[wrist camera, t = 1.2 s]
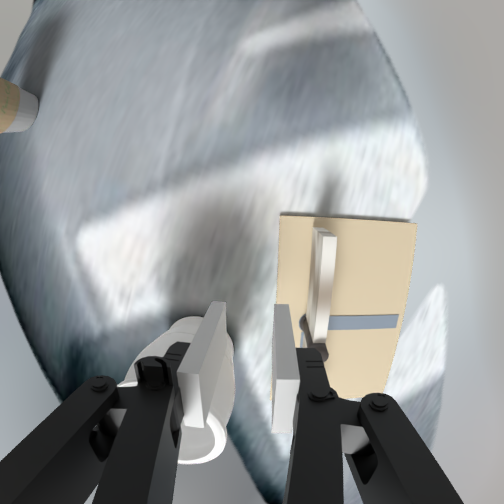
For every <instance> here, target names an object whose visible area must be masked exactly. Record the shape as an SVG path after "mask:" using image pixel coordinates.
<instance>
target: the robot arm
mask: <svg viewBox="0 0 504 504" xmlns="http://www.w3.org/2000/svg"><path fill="white" fill-rule="evenodd" d="M226 347H227V332H226V302H222V301H212V302H211V304H210V306H209V308H208V310H207V312H206V314H205V316H204V318H203V320H202V322H201V324H200V326H199V328H198V330H197V332H196V334H195V336H194V338H193V340H192V342H191V343H188V342H178V341H177V342H176V343H174V344H173V345H171V346H169V348H168V350H167V351H166V354H165V355H164V356H163V357H159V356H147V357H143V358H141V359H139V360H137V361H136V362H135V363H134V369H135V373H136V378H137V382H138V383H137V386H131V387H117V384H116V382H115V380H114V379H113V378H111V377H108V376H95V377H92V378H90V379H88V380H87V381H86V382H84V383H83V384H82V385H81V386H80V387H79V388H78V389H77V390H76V391H75V392H74V393H73V394H71V395H70V396H69V397H68V398H67V399H66V400H65V401H64V402H63V403H62V404H61V405H60V406H58V407H57V408H56V409H55V410H54V411H53V412H52V413H51V414H50V415H49V416H48V417H47V418H46V419H45V420H44V421H42V422H41V423H40V424H39V425H38V426H37V427H36V428H35V429H34V430H33V431H32V432H31V433H30V434H29V435H28V436H27V437H26V438H24V439H23V440H22V441H21V442H20V443H19V444H18V445H17V446H16V447H15V448H14V449H13V450H12V451H11V452H10V453H9V454H8V455H7V456H6V457H5V458H3V460H1V462H0V504H84V503H85V501H86V500H87V499H88V497H89V496H90V494H91V493H92V492H93V490H94V489H95V487H96V486H97V485H98V487H97V490H96V493H95V496H94V499H93V502H92V504H172V500H173V493H174V485H175V478H176V470H177V463H178V457H179V450H180V443H181V437H182V430H181V422H182V420H183V417H184V422H185V426H191V427H199V428H205V424H206V420H207V417H208V413H209V409H210V406H211V402H212V398H213V395H214V391H215V387H216V384H217V380H218V376H219V372H220V369H221V365H222V361H223V358H224V354H225V350H226ZM96 425H97V426H96ZM95 426H96V427H95ZM94 427H95V428H94ZM93 428H94V429H93ZM292 430H293V439H292V445H291V450H290V461H289V468H288V475H287V481H286V488H285V494H284V500H283V504H344V499H343V458H342V453H344V454H345V457H346V460H347V462H348V465H349V467H350V470H351V472H352V475H353V478H354V480H355V483H356V485H357V488H358V491H359V493H360V496H361V498H362V501H363V504H464V503H463V502H462V500H461V498H460V497H459V495H458V494H457V492H456V490H455V489H454V487H453V486H452V484H451V483H450V481H449V479H448V478H447V476H446V475H445V473H444V472H443V470H442V469H441V467H440V466H439V464H438V463H437V461H436V460H435V458H434V456H433V455H432V453H431V452H430V450H429V449H428V447H427V446H426V444H425V443H424V441H423V440H422V439H421V437H420V436H419V434H418V433H417V431H416V430H415V428H414V427H413V425H412V424H411V422H410V421H409V419H408V418H407V417H406V415H405V414H404V412H403V411H402V409H401V408H400V406H399V405H398V404H397V402H396V401H395V400H394V399H393V398H392V397H391V396H389V395H387V394H383V393H370V394H367V395H365V396H364V397H363V398H362V400H361V402H357V401H350V400H346V399H342V398H340V397H338V394H337V392H336V391H335V390H334V389H333V388H331V387H330V384H329V380H328V377H327V373H326V370H325V368H324V363H323V359H322V356H321V353H320V352H319V351H318V350H316V349H315V348H295V341H294V334H293V328H292V321H291V315H290V309H289V304H274V321H273V338H272V433H292ZM98 483H99V484H98Z"/></svg>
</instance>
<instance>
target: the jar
mask: <svg viewBox="0 0 504 504" xmlns="http://www.w3.org/2000/svg"><path fill="white" fill-rule="evenodd" d="M202 320H203V317H198V316H190V317H185V318H182V319H180V320H178V321H176V322H175V323H174V324H173V325H172V326H171V327H170V329H169V330H168V331H166V332H165V333H163V334H162V335H161V336H159V337H158V338H157V339H156V340H155V341H153V342H152V343H150V344H149V345H148V346H147V347H146V348H145V349H144V350H143V351H142V352H141V353H140V354H139V355H138V356H137V358H136V359H135V360H134V362H133V363H132V365H131V367H130V369H129V370H128V372H127V375H126V377H125V379H124V381H123V382H121V383H120V384H118V385H117V387H131V386H137V383H138V382H137V378H136V373H135V369H134V363H135V362H136V361H137V360H139V359H141V358H143V357H147V356H159V357H163V356H164V355H165V354H166V351H167V350H168V348H169V346H171V345H173V344H174V343H176V342H177V341H178V342H188V343H191V342H192V340H193V338H194V336H195V334H196V332H197V330H198V328H199V326H200V324H201V322H202ZM233 353H234V348H233V343H232V340H231V338H230V336H229V335H228V333H227V347H226V350H225V354H224V358H223V361H222V365H221V369H220V372H219V376H218V380H217V384H216V387H215V391H214V395H213V398H212V402H211V406H210V409H209V413H208V417H207V420H206V424H205V428H199V427H191V426H185V422H184V417H183V420H182V422H181V430H182V437H181V443H180V450H179V457H178V463H179V464H199V463H204V462H207V461H210V460H212V459H214V458H216V457H217V456H219V454H220V453H221V452H222V451H223V449H224V447H225V444H226V441H227V430H226V425H227V423H228V420H229V418H230V415H231V412H232V409H233V404H234V398H235V379H234V365H233V360H232V358H233Z"/></svg>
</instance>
